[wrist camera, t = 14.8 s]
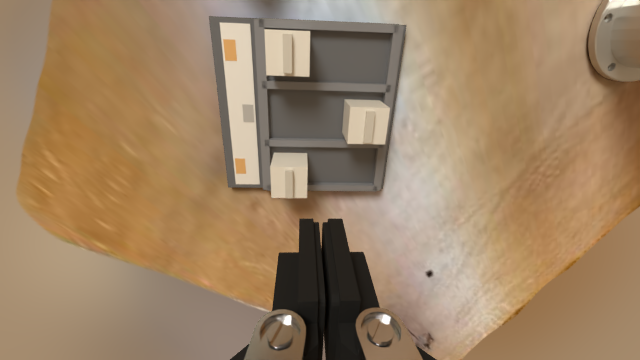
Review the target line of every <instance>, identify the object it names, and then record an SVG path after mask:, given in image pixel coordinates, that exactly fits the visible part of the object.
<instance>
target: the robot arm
mask: <svg viewBox="0 0 640 360" xmlns="http://www.w3.org/2000/svg"><path fill="white" fill-rule="evenodd" d="M588 50H589V57H590V60H591V63H592V65H593V67H594V68H595V70H596V71H597V72H598V73H599V74H600V75H602V76H603V77H605V78H607V79H610V80H614V81H621V82H634V81H640V0H603V1H602V3H601V4H600V6H599V8H598V10H597V12H596V14H595V17H594V19H593V21H592V25H591V29H590V33H589V41H588ZM323 336H324V341H325V353H326V360H436V359H435V358H433V357H432V356H430V355H429V354H427V353H426V352H425V351H423V350H422V349H420V348H419V347H417V346H416V345H415V344H414V342H413V340H412V338H411V336H410V334H409V332H408V330H407V328H406V327H405V325H404V323H403V322H402V320H401V319H400V318H399V317H398V316H397V315H396V314H394V313H393V312H391V311H389V310H387V309H383V308H380V307H379V303H378V300H377V296H376V293H375V290H374V286H373V283H372V279H371V276H370V272H369V269H368V265H367V262H366V259H365V255H364V253H363V252H350V251H349V246H348V242H347V238H346V233H345V229H344V224H343V220H342V219H328V222H323V227H322V248H321V242H320V231H319V222H313V219H300V224H299V253H279V256H278V265H277V274H276V282H275V291H274V300H273V308H272V311H271V312H269V313H267V314H266V315H264V316H263V317H262V318H261V319H260V320H259V321H258V323H257V325H256V327H255V329H254V332H253V335H252V338H251V341H250V344H248V345H247V346H246V347H245V348H244V349H242V350H241V351H240V352H239V353H237V354H236V355H235V356H234V357H233V358H232V359H230V360H322V351H323Z"/></svg>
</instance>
